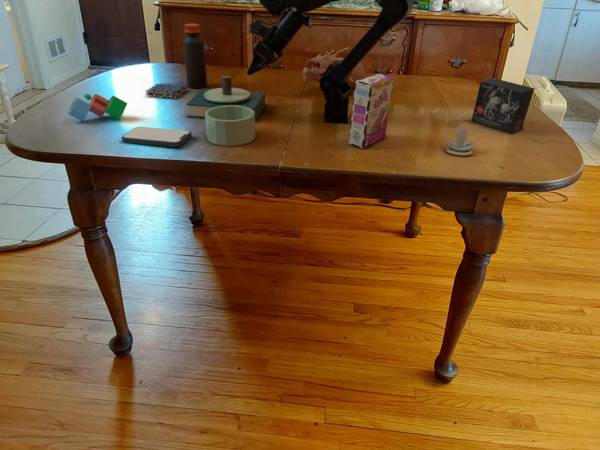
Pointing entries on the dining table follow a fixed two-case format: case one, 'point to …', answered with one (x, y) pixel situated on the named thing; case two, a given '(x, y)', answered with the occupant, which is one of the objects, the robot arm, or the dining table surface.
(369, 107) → the candy bar box
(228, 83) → the cover
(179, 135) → the smartphone
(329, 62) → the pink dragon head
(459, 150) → the pacifier
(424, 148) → the dining table surface
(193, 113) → the book
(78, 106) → the building blocks
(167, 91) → the woven mat
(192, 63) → the bottle
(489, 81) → the small box
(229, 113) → the dish
